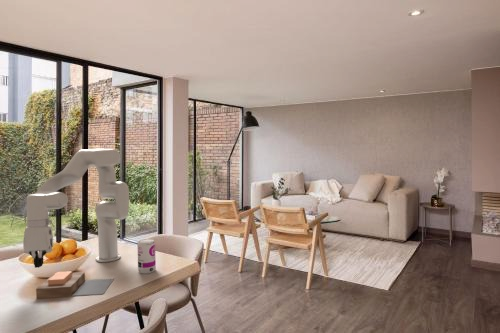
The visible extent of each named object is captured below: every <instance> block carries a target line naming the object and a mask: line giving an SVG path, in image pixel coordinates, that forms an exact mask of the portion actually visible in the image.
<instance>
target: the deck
mask: <svg viewBox="0 0 500 333" xmlns="http://www.w3.org/2000/svg"><path fill="white" fill-rule="evenodd" d="M55 274H56V273H53V274H52V275H51V276H49V277H48V278H47V279H46V280H45V281H44V282H42V283H41V284H40V285H39V286H38V287H36V289H35V292H36V294H35V295H36V299H47V298H49V299H51V298H64V297H65V298H66V297H69V298H70V297H73V296H72V295H73V294H74V293H75V292H76V291H77V290H78V289H79V287H80V286H81V285H82V284H83V283H84V282H85V281H86V275H85V274H86V273H85V271H81V272H78V271H77V272H72V276H71V277H70V278H69V279H68V280H67V281H66V282H65V283H64V284H53V285H48V280H49V279H50V278H51V277H52V276H53V275H55Z"/></svg>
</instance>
